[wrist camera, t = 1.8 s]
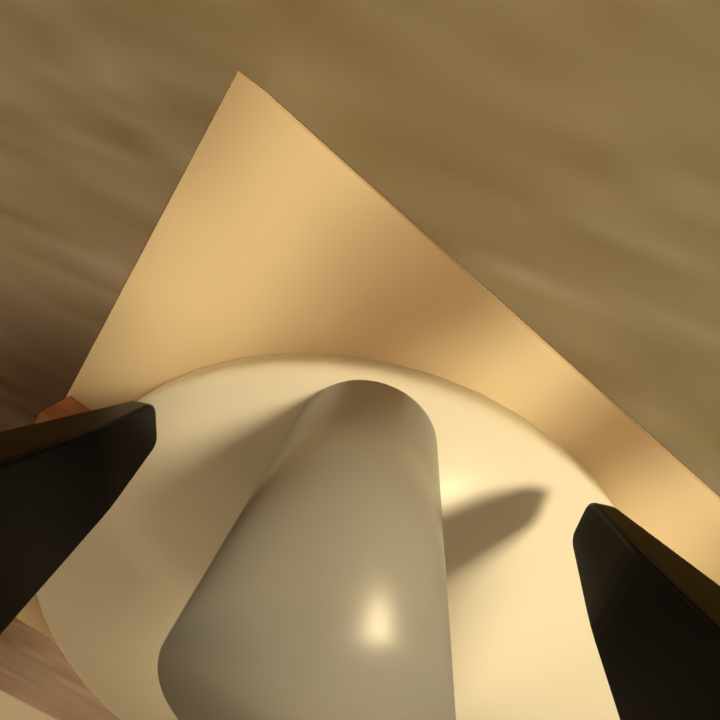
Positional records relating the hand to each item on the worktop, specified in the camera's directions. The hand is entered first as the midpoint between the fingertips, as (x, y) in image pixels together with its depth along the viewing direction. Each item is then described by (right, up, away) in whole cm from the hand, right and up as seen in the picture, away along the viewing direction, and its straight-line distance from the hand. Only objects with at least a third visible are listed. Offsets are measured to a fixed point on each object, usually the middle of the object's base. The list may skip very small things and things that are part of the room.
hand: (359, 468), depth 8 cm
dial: (-1, -6, +5) cm, 8 cm away
